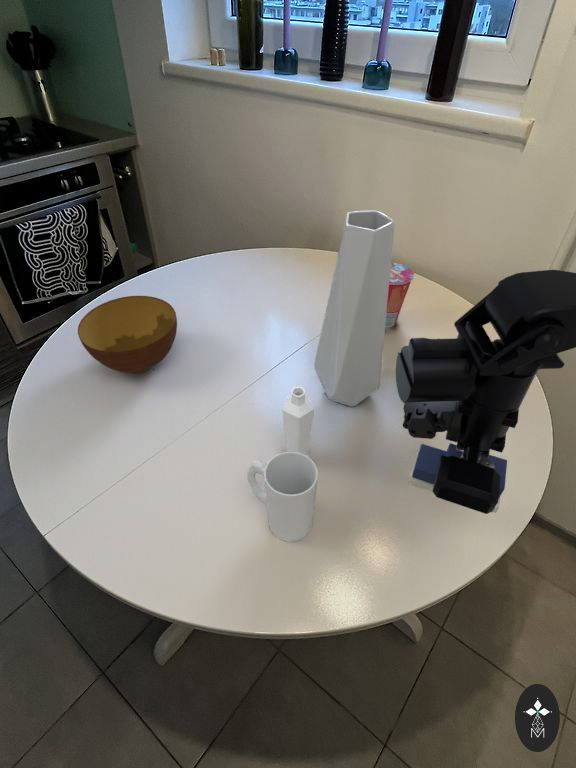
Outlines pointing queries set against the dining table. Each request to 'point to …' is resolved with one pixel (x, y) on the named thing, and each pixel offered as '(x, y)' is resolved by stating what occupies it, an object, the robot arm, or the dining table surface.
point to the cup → (397, 291)
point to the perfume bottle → (297, 420)
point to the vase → (356, 309)
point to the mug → (287, 493)
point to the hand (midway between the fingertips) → (456, 477)
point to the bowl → (129, 332)
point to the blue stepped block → (429, 464)
